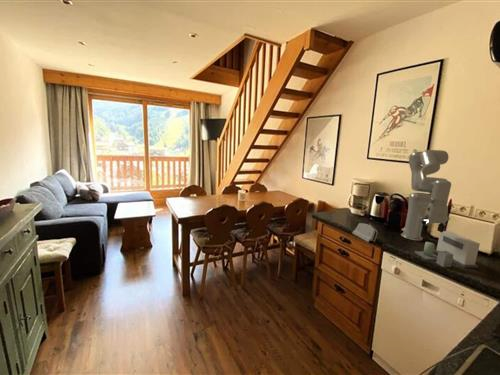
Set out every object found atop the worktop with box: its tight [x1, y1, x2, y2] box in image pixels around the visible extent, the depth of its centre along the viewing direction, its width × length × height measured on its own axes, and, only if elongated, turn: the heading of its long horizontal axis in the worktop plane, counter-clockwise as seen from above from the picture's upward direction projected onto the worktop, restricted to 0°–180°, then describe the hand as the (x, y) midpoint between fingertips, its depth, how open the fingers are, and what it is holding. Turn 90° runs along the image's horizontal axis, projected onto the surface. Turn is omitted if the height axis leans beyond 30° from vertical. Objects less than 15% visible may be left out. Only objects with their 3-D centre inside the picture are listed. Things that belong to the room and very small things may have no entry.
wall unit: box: [433, 230, 481, 269], centre depth 138 cm, size 20×8×13 cm, turn 5°
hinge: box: [352, 222, 379, 243], centre depth 166 cm, size 17×5×10 cm, turn 14°
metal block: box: [435, 251, 453, 268], centre depth 131 cm, size 4×4×7 cm
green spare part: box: [422, 241, 436, 257], centre depth 141 cm, size 4×4×7 cm
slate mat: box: [414, 250, 438, 261], centre depth 141 cm, size 9×9×1 cm
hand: (432, 231), depth 139 cm, fingers open, 9 cm apart
